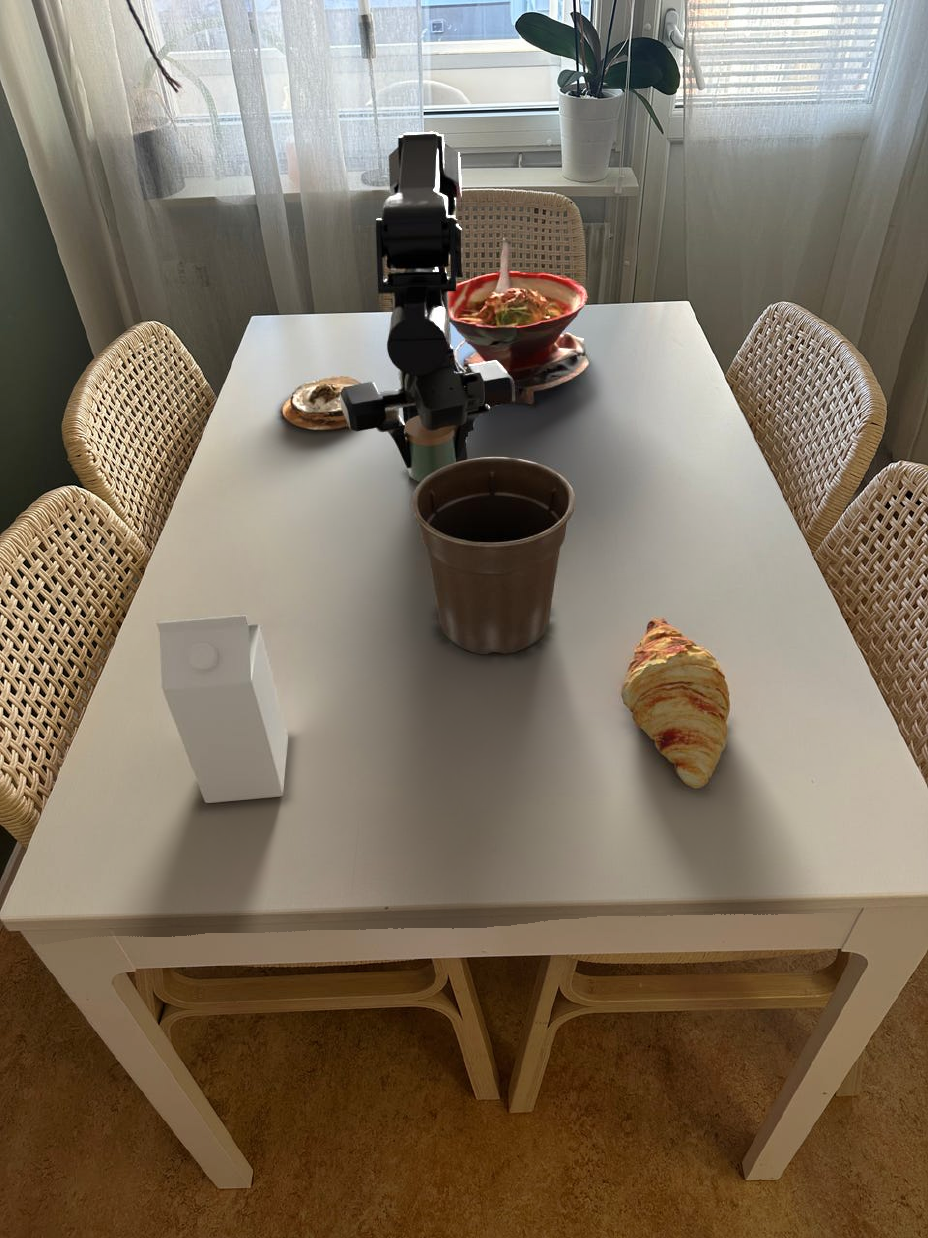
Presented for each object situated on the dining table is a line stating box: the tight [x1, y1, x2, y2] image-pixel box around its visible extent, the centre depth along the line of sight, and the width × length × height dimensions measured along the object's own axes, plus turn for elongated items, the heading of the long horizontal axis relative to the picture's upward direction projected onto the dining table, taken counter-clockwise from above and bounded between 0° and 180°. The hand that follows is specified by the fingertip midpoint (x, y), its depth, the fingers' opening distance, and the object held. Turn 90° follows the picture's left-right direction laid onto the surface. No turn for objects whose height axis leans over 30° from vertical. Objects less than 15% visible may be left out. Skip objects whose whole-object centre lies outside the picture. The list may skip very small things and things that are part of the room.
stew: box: [449, 238, 590, 405], centre depth 140 cm, size 28×24×16 cm
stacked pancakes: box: [282, 375, 363, 431], centre depth 135 cm, size 15×15×4 cm
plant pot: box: [411, 456, 576, 656], centre depth 92 cm, size 16×16×16 cm
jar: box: [405, 416, 456, 483], centre depth 101 cm, size 6×6×6 cm
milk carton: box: [156, 613, 289, 804], centre depth 76 cm, size 7×7×19 cm
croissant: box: [620, 617, 731, 789], centre depth 84 cm, size 21×10×8 cm, turn 2°
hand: (432, 461), depth 102 cm, fingers closed on jar, 5 cm apart
